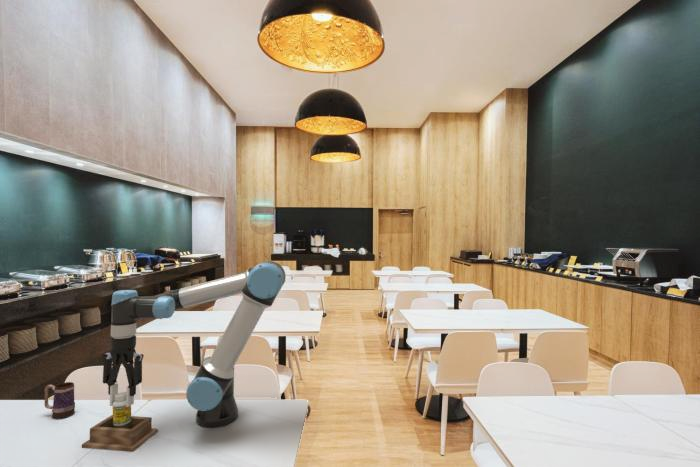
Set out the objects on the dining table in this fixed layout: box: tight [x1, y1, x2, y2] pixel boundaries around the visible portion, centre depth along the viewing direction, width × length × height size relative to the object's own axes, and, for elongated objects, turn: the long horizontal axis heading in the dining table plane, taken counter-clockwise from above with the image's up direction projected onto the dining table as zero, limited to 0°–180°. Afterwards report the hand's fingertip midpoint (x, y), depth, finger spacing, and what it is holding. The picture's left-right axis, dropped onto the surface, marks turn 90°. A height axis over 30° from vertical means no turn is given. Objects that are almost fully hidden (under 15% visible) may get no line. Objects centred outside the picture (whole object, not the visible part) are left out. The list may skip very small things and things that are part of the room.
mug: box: [43, 381, 76, 420], centre depth 146 cm, size 10×7×12 cm
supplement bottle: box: [112, 391, 132, 426], centre depth 129 cm, size 5×5×10 cm
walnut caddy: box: [81, 414, 159, 452], centre depth 129 cm, size 18×13×6 cm
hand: (121, 404), depth 129 cm, fingers closed on supplement bottle, 5 cm apart
